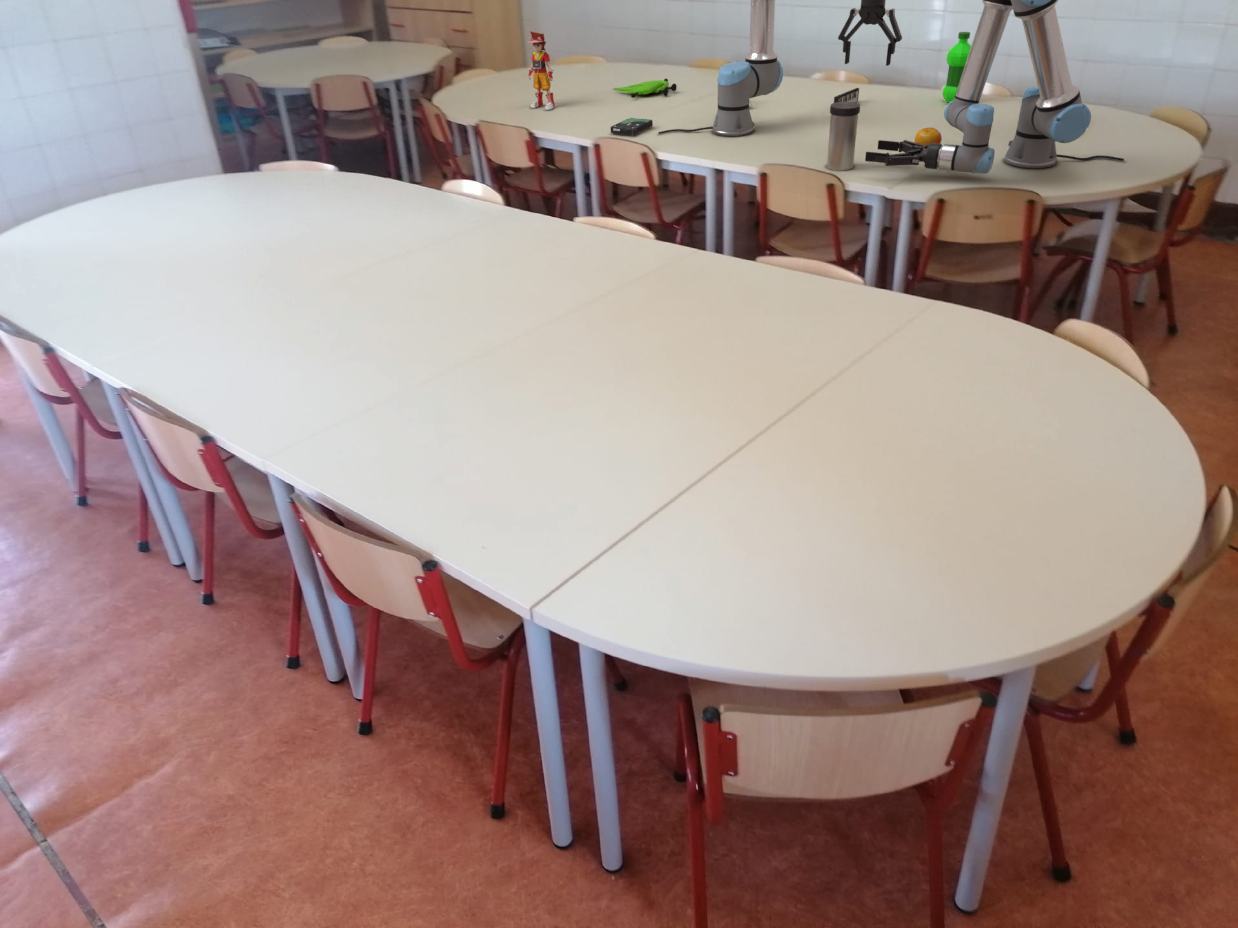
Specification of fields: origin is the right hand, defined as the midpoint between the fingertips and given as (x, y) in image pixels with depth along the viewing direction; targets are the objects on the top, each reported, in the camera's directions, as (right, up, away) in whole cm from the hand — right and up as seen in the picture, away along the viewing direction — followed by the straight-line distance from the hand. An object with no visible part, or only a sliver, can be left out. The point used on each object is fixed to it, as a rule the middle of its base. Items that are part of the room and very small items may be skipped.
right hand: (871, 150), depth 286 cm
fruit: (+24, +7, +19) cm, 31 cm away
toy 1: (-114, +52, +97) cm, 158 cm away
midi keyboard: (+10, +43, +73) cm, 85 cm away
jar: (-8, -2, +9) cm, 12 cm away
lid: (-9, +13, -2) cm, 16 cm away
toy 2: (-71, +65, +111) cm, 147 cm away
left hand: (+1, +32, +9) cm, 33 cm away
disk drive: (-76, +28, +59) cm, 100 cm away
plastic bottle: (+52, +43, +69) cm, 96 cm away
